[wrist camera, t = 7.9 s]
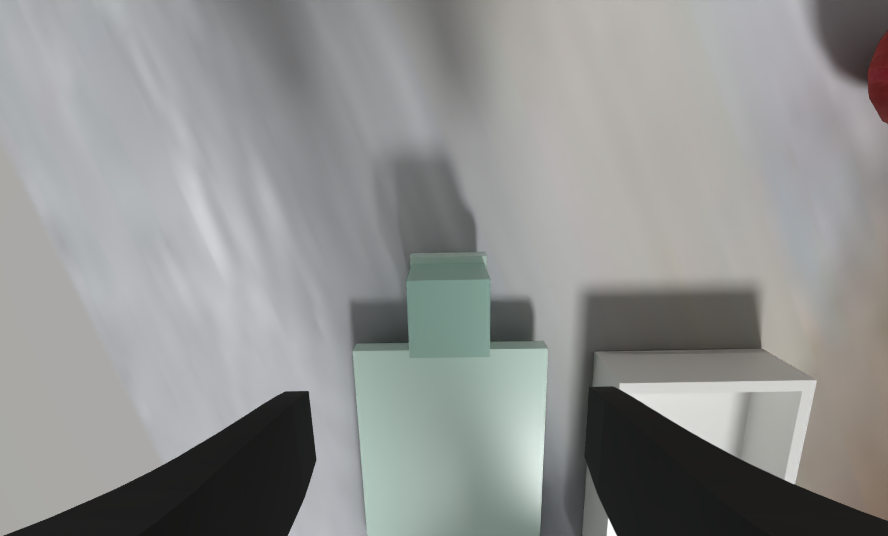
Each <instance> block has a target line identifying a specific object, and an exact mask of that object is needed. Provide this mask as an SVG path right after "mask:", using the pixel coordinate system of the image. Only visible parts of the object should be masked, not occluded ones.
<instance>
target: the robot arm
mask: <svg viewBox="0 0 888 536" xmlns="http://www.w3.org/2000/svg"><path fill="white" fill-rule="evenodd" d="M585 459H586V462H587V465H588V468H589V471H590V475H591V478H592V481H593V483H594V486H595V489H596V492H597V495H598V497H599V499H600V501H601V504H602V506H603V508H604V510H605V512H606V514H607V516H608V518H609V520H610V523H611V525H612V527H613V529H614V531H615V533H616V535H617V536H888V521H886V520H883V519H881V518H878V517H875V516H872V515H870V514H867V513H864V512H861V511H859V510H856V509H854V508H851V507H849V506H846V505H844V504H841V503H839V502H836V501H834V500H831V499H828V498H826V497H823V496H821V495H818V494H816V493H813V492H811V491H809V490H806V489H804V488H802V487H799V486H797V485H795V484H792V483H790V482H788V481H786V480H783V479H781V478H779V477H777V476H775V475H773V474H771V473H768V472H766V471H764V470H762V469H760V468H758V467H756V466H753V465H751V464H749V463H747V462H745V461H743V460H741V459H739V458H737V457H735V456H733V455H731V454H730V453H728V452H726V451H724V450H722V449H720V448H719V447H717V446H715V445H713V444H711V443H709V442H707V441H706V440H704V439H702V438H700V437H698V436H697V435H695V434H693V433H691V432H690V431H688V430H686V429H685V428H683V427H681V426H680V425H678V424H676V423H675V422H673V421H671V420H670V419H668V418H666V417H665V416H663V415H661V414H660V413H658V412H656V411H655V410H653V409H652V408H650V407H648V406H647V405H645V404H643V403H642V402H640V401H639V400H637V399H635V398H634V397H632V396H630V395H629V394H627V393H625V392H623V391H622V390H620V389H618V388H616V387H614V386H605V387H589V397H588V413H587V428H586V444H585ZM315 463H316V453H315V444H314V435H313V426H312V417H311V408H310V400H309V391H290V392H283V393H281V394H280V395H278V396H276V397H274V398H273V399H271V400H269V401H268V402H266V403H264V404H263V405H261V406H260V407H258V408H257V409H255V410H253V411H252V412H250V413H249V414H247V415H246V416H244V417H242V418H241V419H239V420H238V421H236V422H235V423H233V424H231V425H230V426H228V427H227V428H225V429H224V430H222V431H220V432H219V433H217V434H216V435H214V436H212V437H211V438H209V439H207V440H205V441H204V442H202V443H200V444H199V445H197V446H195V447H194V448H192V449H190V450H189V451H187V452H185V453H183V454H182V455H180V456H178V457H177V458H175V459H173V460H171V461H170V462H168V463H166V464H164V465H162V466H160V467H158V468H157V469H155V470H153V471H151V472H149V473H147V474H145V475H143V476H141V477H139V478H137V479H135V480H133V481H131V482H129V483H127V484H125V485H123V486H121V487H119V488H117V489H114V490H112V491H110V492H108V493H106V494H103V495H101V496H99V497H97V498H94V499H92V500H90V501H87V502H85V503H83V504H80V505H78V506H76V507H74V508H71V509H69V510H67V511H64V512H62V513H60V514H57V515H55V516H53V517H51V518H48V519H46V520H43V521H40V522H38V523H35V524H33V525H30V526H28V527H25V528H23V529H20V530H17V531H15V532H12V533H10V534H7V535H4V536H288V534H289V531H290V529H291V527H292V525H293V523H294V520H295V518H296V516H297V514H298V512H299V509H300V507H301V505H302V503H303V500H304V498H305V495H306V492H307V489H308V486H309V483H310V479H311V476H312V473H313V469H314V466H315Z"/></svg>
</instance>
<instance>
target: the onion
mask: <svg viewBox="0 0 888 536" xmlns="http://www.w3.org/2000/svg"><path fill="white" fill-rule="evenodd" d="M867 73H868V93H869V98H870V100H871V102H872V104H873V105H874V107H875V109H876V111H877V112H878V114H879V116H880V118H881V119H882V121H883V122H885V123H887V124H888V31H887V32H886V33H885V35H884V36H883V37H882V39H881V40H880V41H879V44H878V46H877V48H876V50H875V52H874V55H873V58H872V61H871V63H870V66H869V69H868V72H867Z"/></svg>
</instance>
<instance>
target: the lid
mask: <svg viewBox="0 0 888 536" xmlns="http://www.w3.org/2000/svg"><path fill="white" fill-rule="evenodd" d="M406 290H407V313H408V336H409V343H368V344H356V345H355V347H354V349H353V364H354V376H355V389H356V402H357V414H358V427H359V439H360V452H361V465H362V477H363V490H364V502H365V515H366V527H367V536H540V523H541V500H542V477H543V454H544V430H545V407H546V384H547V361H548V348H547V346H546V344H545V342H544V341H510V342H490V277H489V274H488V272H487V255H486V253H485V252H455V253H411V255H410V272H409V274H408V277H407V280H406Z"/></svg>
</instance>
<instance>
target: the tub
mask: <svg viewBox="0 0 888 536" xmlns="http://www.w3.org/2000/svg"><path fill="white" fill-rule="evenodd" d="M816 382H817V380H816V379H814V378H812V377H811V376H809V375H807V374H805V373H804V372H802V371H800V370H798V369H797V368H795V367H793V366H792V365H790V364H788V363H786V362H785V361H783V360H781V359H779V358H778V357H776V356H774V355H772V354H771V353H769V352H767V351H766V350H764V349H715V350H658V351H602V352H594V367H593V382H592V387H605V386H614V387H616V388H618V389H620V390H622V391H623V392H625V393H627V394H629V395H630V396H632V397H634V398H635V399H637V400H639V401H640V402H642V403H643V404H645V405H647V406H648V407H650V408H652V409H653V410H655V411H656V412H658V413H660V414H661V415H663V416H665V417H666V418H668V419H670V420H671V421H673V422H675V423H676V424H678V425H680V426H681V427H683V428H685V429H686V430H688V431H690V432H691V433H693V434H695V435H697V436H698V437H700V438H702V439H704V440H706V441H707V442H709V443H711V444H713V445H715V446H717V447H719V448H720V449H722V450H724V451H726V452H728V453H730V454H731V455H733V456H735V457H737V458H739V459H741V460H743V461H745V462H747V463H749V464H751V465H753V466H756V467H758V468H760V469H762V470H764V471H766V472H768V473H771V474H773V475H775V476H777V477H779V478H781V479H783V480H786V481H788V482H790V483H792V484H795V481H796V477H797V472H798V467H799V462H800V458H801V453H802V448H803V443H804V439H805V434H806V429H807V424H808V420H809V415H810V410H811V406H812V401H813V396H814V391H815V387H816ZM582 536H617V535H616V533H615V531H614V529H613V527H612V525H611V523H610V520H609V518H608V516H607V514H606V512H605V510H604V508H603V506H602V504H601V501H600V499H599V497H598V495H597V492H596V489H595V486H594V483H593V481H592V478H591V475H590V471H589V468H588V465H587V470H586V485H585V500H584V515H583V529H582Z"/></svg>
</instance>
